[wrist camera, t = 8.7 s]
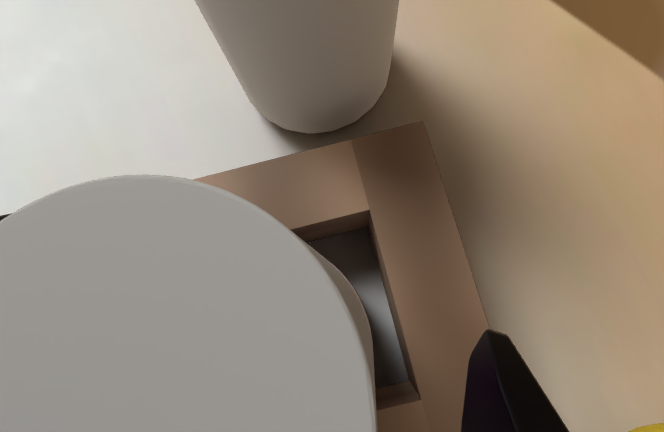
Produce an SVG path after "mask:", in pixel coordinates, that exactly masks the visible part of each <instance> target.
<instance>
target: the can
mask: <svg viewBox="0 0 664 432" xmlns="http://www.w3.org/2000/svg"><path fill="white" fill-rule="evenodd" d="M195 2H196V4H197V5H198V7H199V9H200V11H201V13H202V14H203V16H204V18H205V20H206V22H207V24H208V25H209V27H210V29H211V31H212V33H213V34H214V36H215V38H216V40H217V42H218V44H219V45H220V47H221V49H222V51H223V53H224V55H225V56H226V58H227V60H228V62H229V64H230V65H231V67H232V69H233V71H234V73H235V75H236V76H237V78H238V80H239V82H240V84H241V86H242V87H243V89H244V91H245V93H246V95H247V96H248V98H249V100H250V102H251V103H252V104H253V105H254V107H255V108H256V109H257V110H258V111H259V112H260V113H261V114H262V115H263V116H264V117H265V118H266V119H267V120H269V121H271V122H273V123H275V124H277V125H278V126H280V127H282V128H284V129H286V130H292V131H297V132H302V133H308V134H311V133H320V132H329V131H335V130H337V129H339V128H342V127H344V126H346V125H349V124H351V123H353V122H356V121H357V120H358V119H359V118H360V117H362V116H363V115H364V114H365V113H366V112H368V111H369V110H370V109H371V108H372V107H373V106H374V105H375V104H376V102H377V100H378V99H379V97H380V95H381V94H382V92H383V91H384V89H385V87H386V84H387V80H388V75H389V71H390V66H391V59H392V51H393V43H394V35H395V27H396V19H397V12H398V4H399V0H195Z"/></svg>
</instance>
